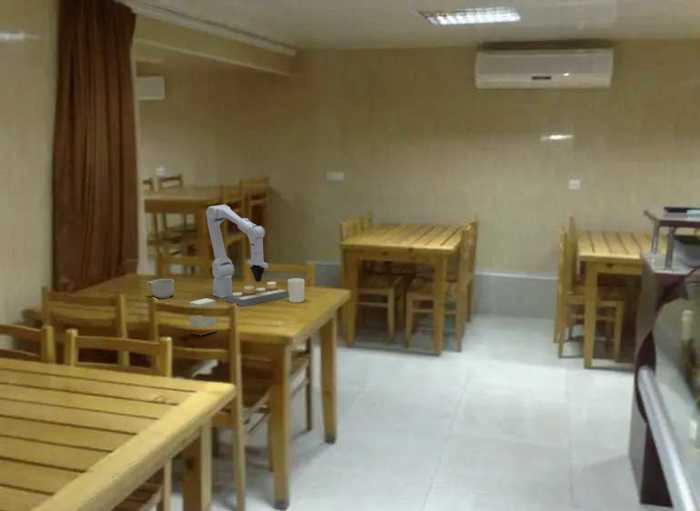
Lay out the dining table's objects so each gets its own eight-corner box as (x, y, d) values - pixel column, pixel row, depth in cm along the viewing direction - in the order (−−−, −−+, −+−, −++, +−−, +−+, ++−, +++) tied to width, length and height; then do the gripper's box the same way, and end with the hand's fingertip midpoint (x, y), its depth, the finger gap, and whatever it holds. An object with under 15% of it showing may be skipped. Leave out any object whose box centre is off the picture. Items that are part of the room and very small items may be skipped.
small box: (207, 329, 265) (205, 297, 263) (217, 332, 261) (215, 300, 259) (190, 334, 259) (188, 301, 257) (200, 337, 255) (198, 304, 253)
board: (226, 301, 311) (225, 294, 311) (271, 292, 328) (271, 286, 328) (242, 306, 301) (242, 299, 300) (288, 297, 318) (288, 290, 318)
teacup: (179, 295, 325) (178, 279, 324) (164, 300, 316) (163, 284, 314) (157, 293, 331) (156, 277, 330) (142, 298, 322) (140, 281, 320)
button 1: (231, 301, 310) (230, 293, 309) (239, 299, 313) (238, 291, 312) (236, 303, 307) (235, 294, 306) (244, 301, 309) (244, 293, 309)
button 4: (265, 290, 322) (265, 282, 322) (272, 289, 325) (272, 281, 325) (270, 292, 319) (270, 283, 318) (278, 290, 322) (277, 282, 321)
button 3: (254, 296, 318) (254, 288, 318) (262, 295, 321) (261, 287, 321) (259, 298, 315) (259, 290, 314) (267, 296, 318) (267, 288, 317)
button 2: (242, 295, 314) (242, 286, 313) (250, 293, 317) (250, 285, 316) (248, 296, 311) (247, 288, 310) (255, 295, 313) (255, 286, 313)
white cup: (302, 303, 306) (301, 282, 304) (286, 302, 307) (285, 281, 305) (307, 299, 313) (306, 278, 311) (291, 298, 315) (290, 278, 313)
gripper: (241, 252, 310) (242, 280, 312) (258, 255, 299) (259, 285, 301) (253, 250, 314) (255, 278, 317) (271, 253, 304) (272, 282, 306)
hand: (258, 281), depth 309 cm, fingers closed
